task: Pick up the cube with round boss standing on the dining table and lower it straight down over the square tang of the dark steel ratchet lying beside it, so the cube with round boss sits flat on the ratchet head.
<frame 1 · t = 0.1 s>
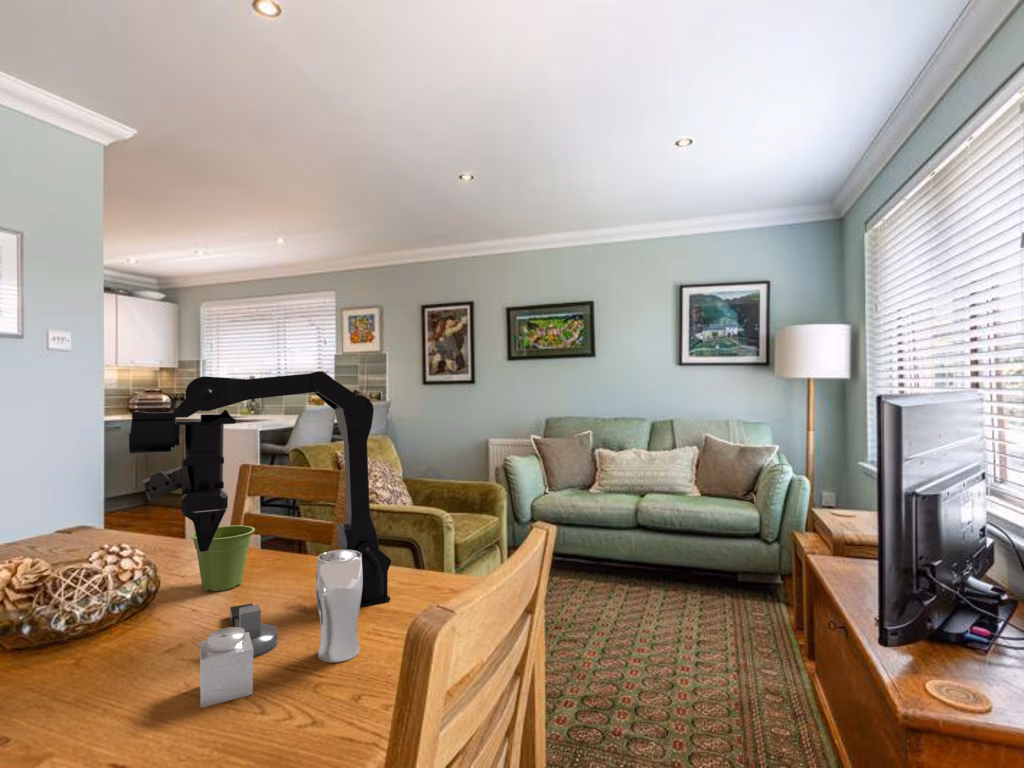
hand: (202, 544, 90), 15 cm above the table, tool pointing down, fingers open, 9 cm apart
beer glass: (338, 654, 83), on the table
ratchet: (249, 647, 85), on the table
cube with round boss: (225, 690, 72), on the table
plant pot: (222, 586, 112), on the table
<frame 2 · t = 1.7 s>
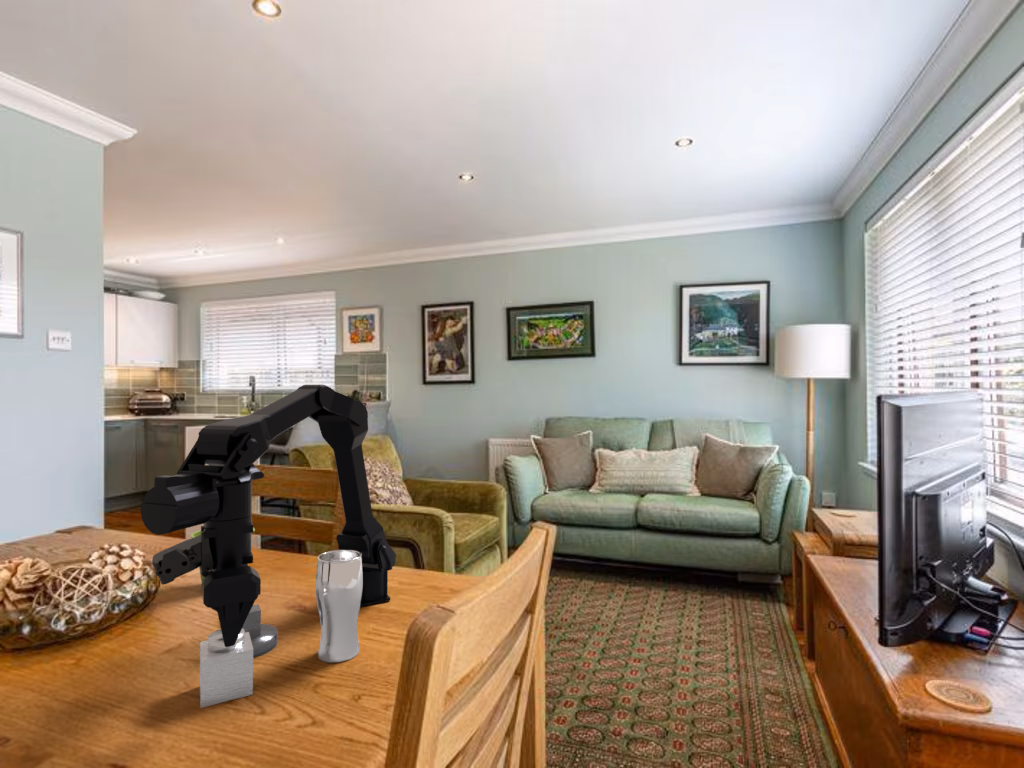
hand: (227, 632, 73), 8 cm above the table, tool pointing down, fingers open, 9 cm apart
nothing on the table moved.
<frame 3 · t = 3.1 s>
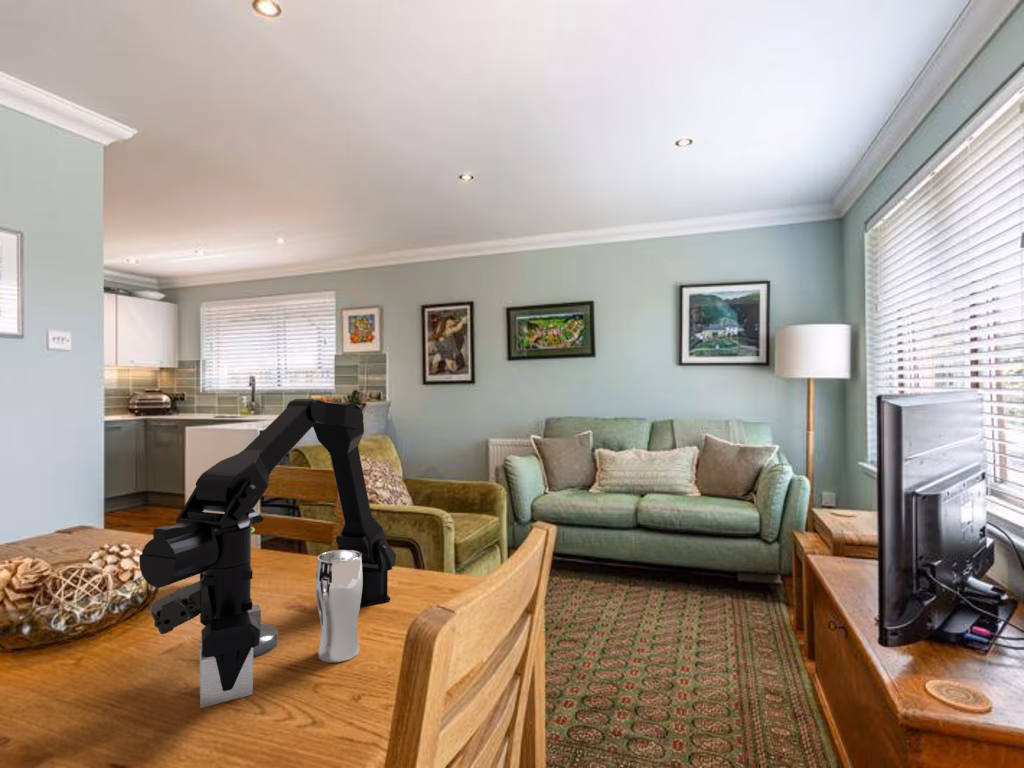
hand: (225, 678, 72), 2 cm above the table, tool pointing down, fingers closed on cube with round boss, 6 cm apart
cube with round boss: (225, 690, 72), on the table, touching gripper
everything else where it was.
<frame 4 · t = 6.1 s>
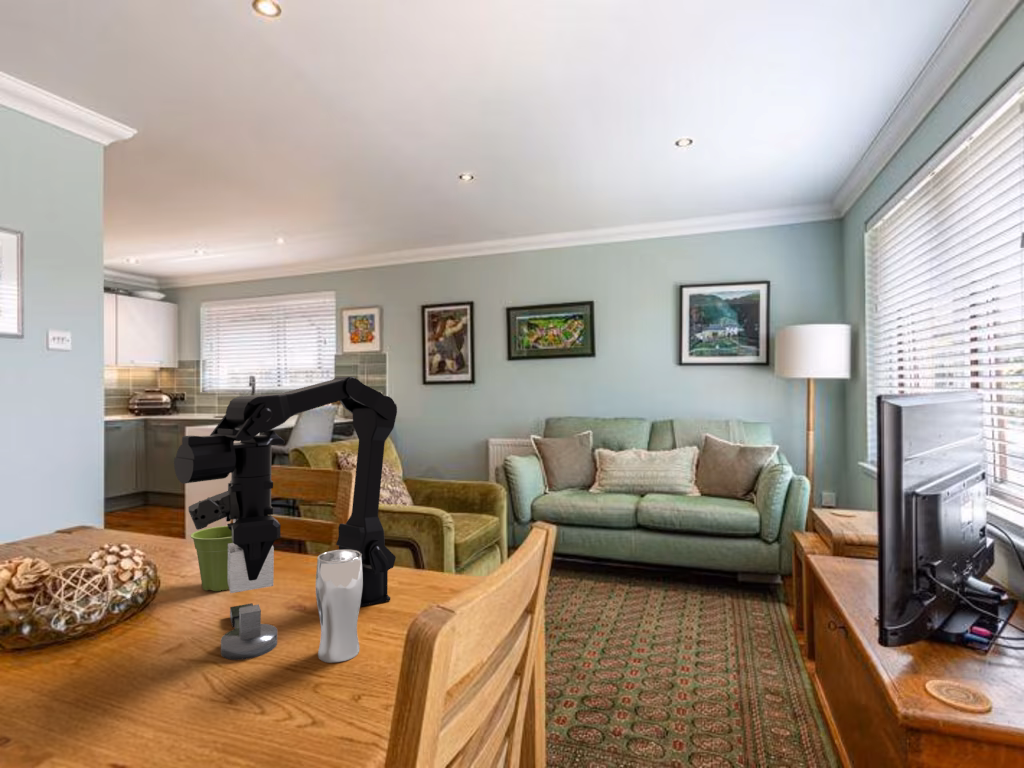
hand: (250, 574, 85), 11 cm above the table, tool pointing down, fingers closed on cube with round boss, 6 cm apart
cube with round boss: (250, 583, 85), point 10 cm above the table, touching gripper
everything else where it was.
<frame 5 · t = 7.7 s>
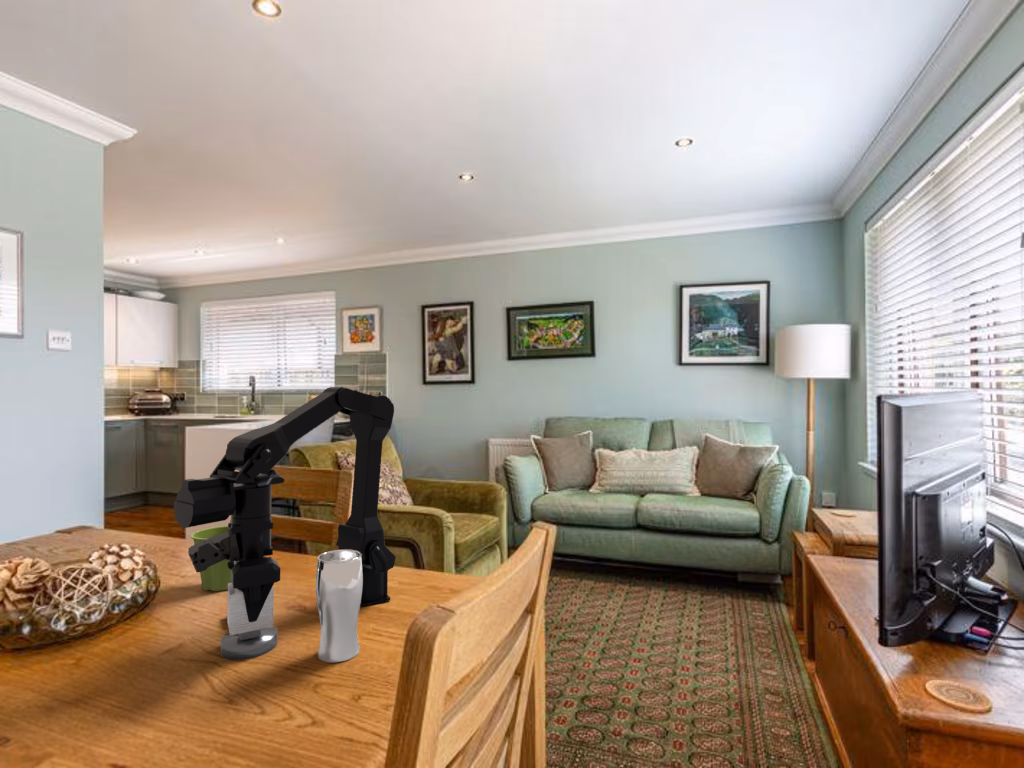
hand: (250, 614, 85), 5 cm above the table, tool pointing down, fingers closed on cube with round boss, 6 cm apart
cube with round boss: (250, 623, 85), point 4 cm above the table, touching gripper
everything else where it was.
when the fingers open (4 cm above the table, at t = 8.9 s): cube with round boss stays where it is, resting on ratchet.
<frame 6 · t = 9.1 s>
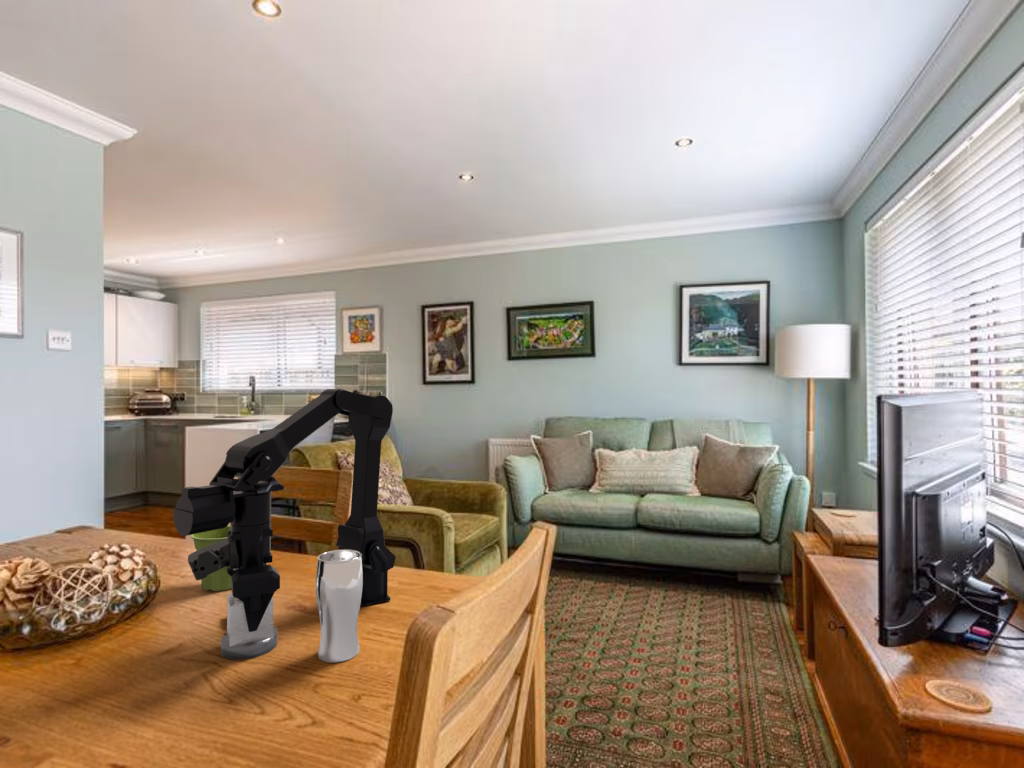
hand: (250, 621, 85), 4 cm above the table, tool pointing down, fingers open, 8 cm apart
ratchet: (249, 647, 85), on the table, touching cube with round boss
cube with round boss: (249, 634, 85), point 2 cm above the table, touching ratchet
everything else where it was.
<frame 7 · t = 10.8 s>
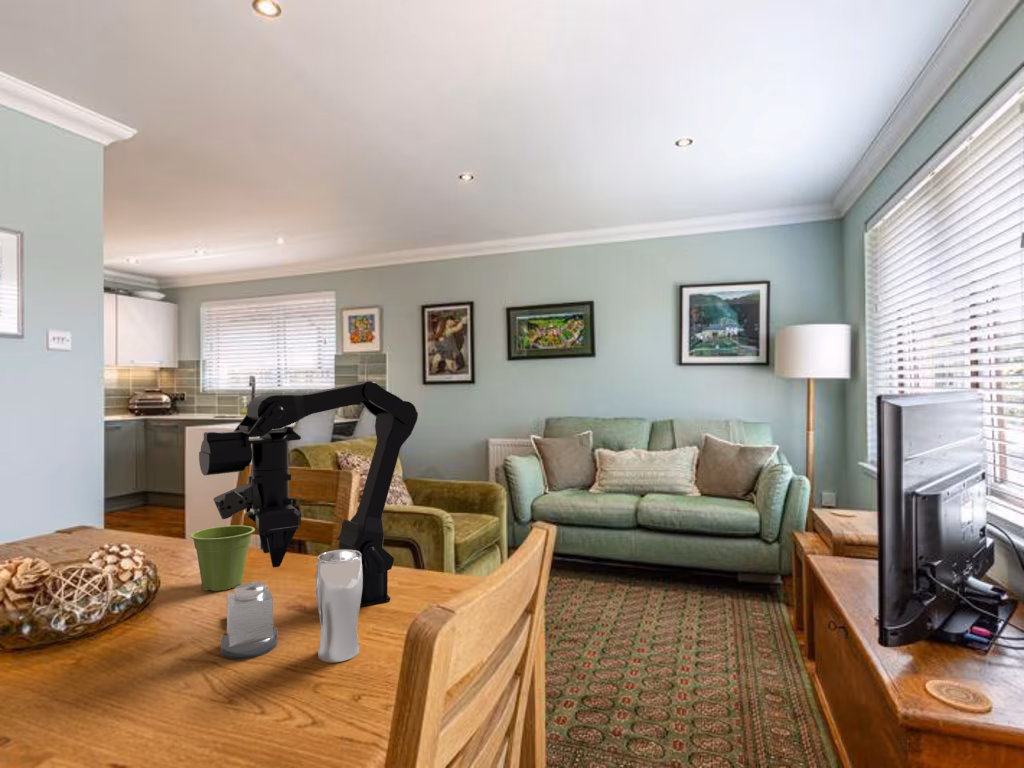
hand: (271, 559, 92), 12 cm above the table, tool pointing down, fingers open, 9 cm apart
nothing on the table moved.
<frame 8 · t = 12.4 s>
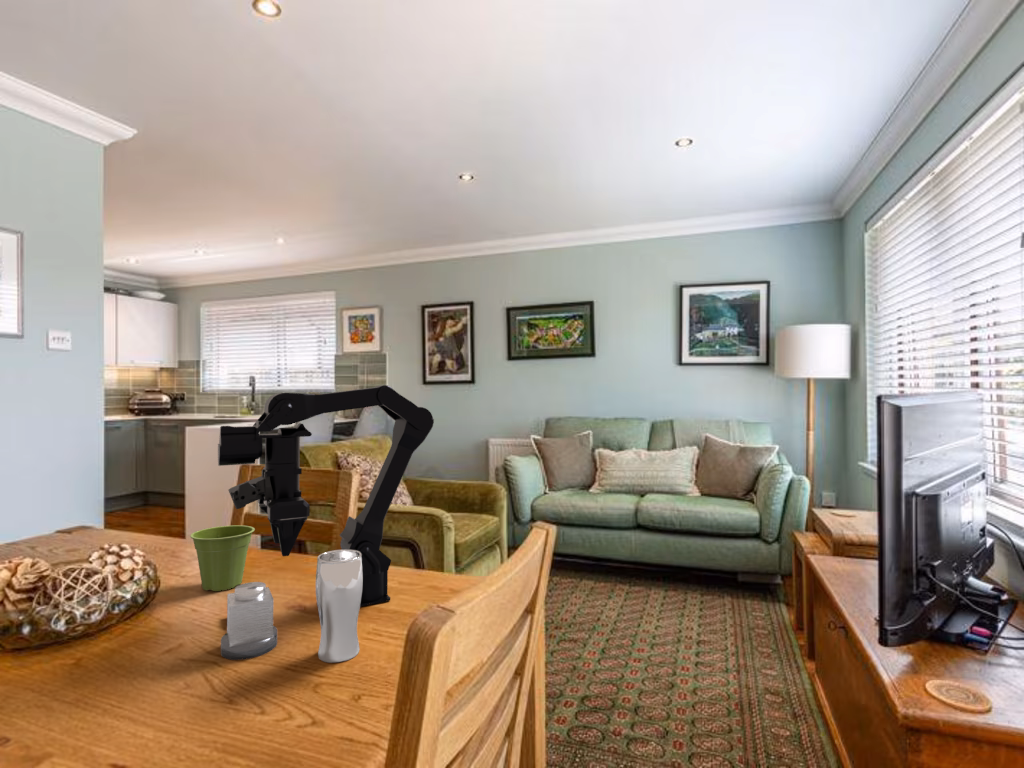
hand: (281, 549, 97), 12 cm above the table, tool pointing down, fingers open, 9 cm apart
nothing on the table moved.
at the end: cube with round boss 0.0 cm from the ratchet (horizontally); cube with round boss point 1.9 cm above the table; ratchet moved 0.0 cm from its start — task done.
